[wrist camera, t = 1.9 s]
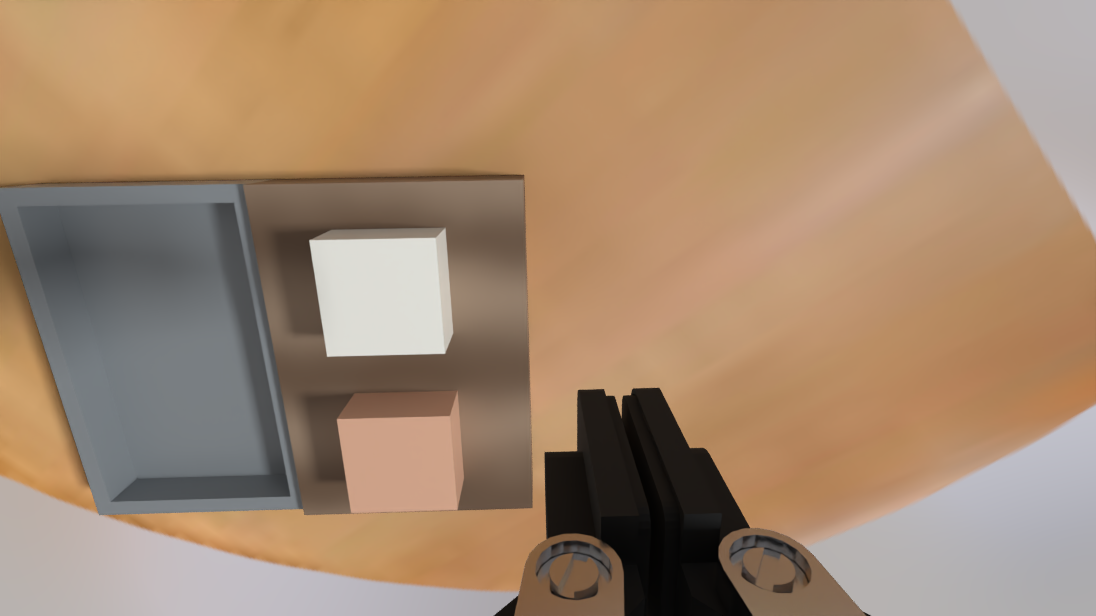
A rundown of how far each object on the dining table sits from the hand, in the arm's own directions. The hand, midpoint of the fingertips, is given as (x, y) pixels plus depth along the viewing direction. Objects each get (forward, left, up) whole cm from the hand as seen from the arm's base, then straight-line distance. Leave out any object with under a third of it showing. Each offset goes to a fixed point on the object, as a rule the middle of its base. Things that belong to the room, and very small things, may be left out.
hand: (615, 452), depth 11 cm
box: (+4, -20, -17) cm, 26 cm away
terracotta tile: (+8, -8, -14) cm, 18 cm away
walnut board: (+4, -8, -17) cm, 19 cm away
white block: (0, -8, -14) cm, 16 cm away
